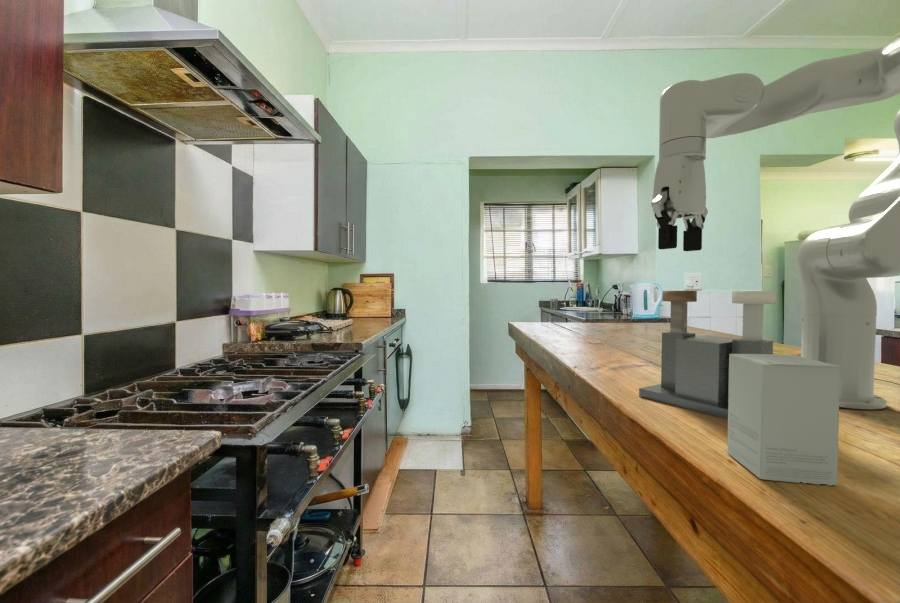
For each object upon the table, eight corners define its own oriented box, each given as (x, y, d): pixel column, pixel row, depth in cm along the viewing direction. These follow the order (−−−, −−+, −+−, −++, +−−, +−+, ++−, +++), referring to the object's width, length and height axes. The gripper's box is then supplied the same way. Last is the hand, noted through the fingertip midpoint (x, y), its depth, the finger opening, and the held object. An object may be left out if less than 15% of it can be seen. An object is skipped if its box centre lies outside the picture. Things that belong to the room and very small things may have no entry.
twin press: (678, 387, 81) (679, 329, 80) (794, 412, 64) (796, 340, 64) (639, 396, 74) (640, 333, 74) (756, 426, 58) (758, 346, 57)
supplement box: (840, 487, 40) (844, 365, 40) (758, 480, 42) (761, 363, 41) (793, 457, 48) (796, 353, 47) (724, 452, 49) (727, 351, 49)
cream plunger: (740, 360, 68) (742, 290, 67) (780, 365, 63) (782, 291, 62) (723, 363, 65) (725, 291, 65) (764, 369, 60) (766, 291, 60)
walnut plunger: (672, 350, 78) (673, 290, 78) (701, 354, 73) (703, 290, 73) (655, 353, 75) (656, 290, 75) (684, 357, 70) (686, 290, 70)
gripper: (687, 166, 81) (686, 253, 81) (633, 152, 72) (632, 249, 73) (728, 156, 74) (726, 250, 75) (674, 138, 65) (672, 245, 66)
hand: (680, 249), depth 74 cm, fingers open, 7 cm apart
